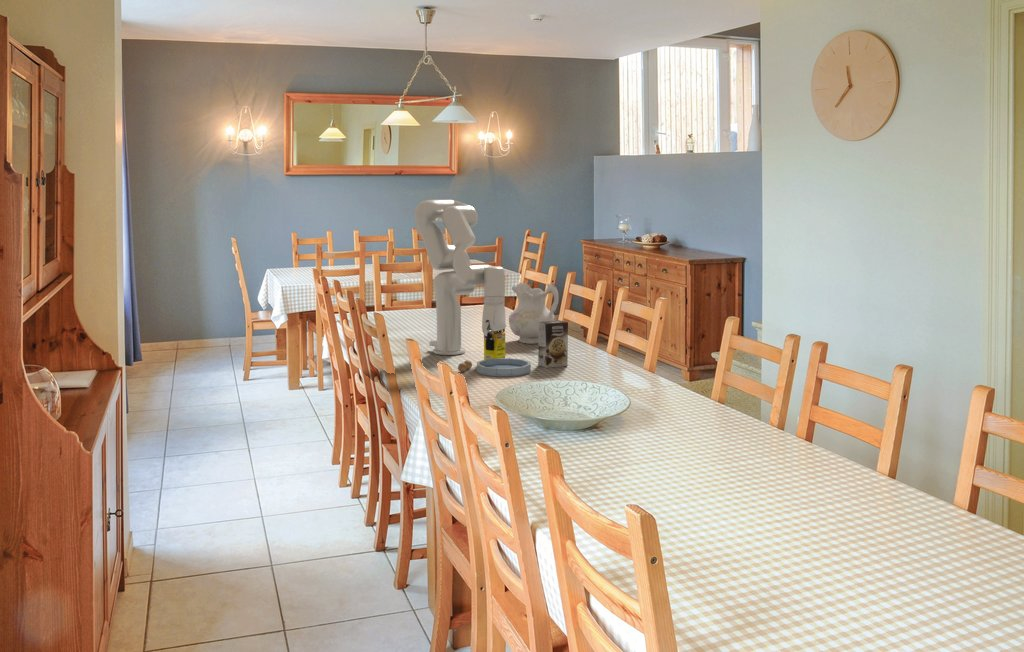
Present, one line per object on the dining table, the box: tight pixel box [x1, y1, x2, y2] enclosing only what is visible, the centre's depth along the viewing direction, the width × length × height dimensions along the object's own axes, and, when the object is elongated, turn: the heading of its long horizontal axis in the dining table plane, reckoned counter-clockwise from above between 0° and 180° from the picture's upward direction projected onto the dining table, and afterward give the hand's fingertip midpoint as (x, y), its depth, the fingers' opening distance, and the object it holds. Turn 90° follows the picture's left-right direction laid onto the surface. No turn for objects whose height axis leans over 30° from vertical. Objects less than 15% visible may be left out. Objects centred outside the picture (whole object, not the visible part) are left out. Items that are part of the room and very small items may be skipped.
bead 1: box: [457, 362, 468, 373], centre depth 318 cm, size 3×3×3 cm
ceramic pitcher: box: [508, 282, 560, 345], centre depth 377 cm, size 22×20×25 cm
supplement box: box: [483, 331, 506, 360], centre depth 335 cm, size 6×6×11 cm
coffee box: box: [537, 319, 569, 369], centre depth 328 cm, size 9×6×16 cm
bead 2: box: [463, 359, 473, 370], centre depth 323 cm, size 3×3×3 cm
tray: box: [476, 357, 532, 378], centre depth 319 cm, size 19×19×3 cm
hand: (494, 348), depth 335 cm, fingers closed on supplement box, 6 cm apart
